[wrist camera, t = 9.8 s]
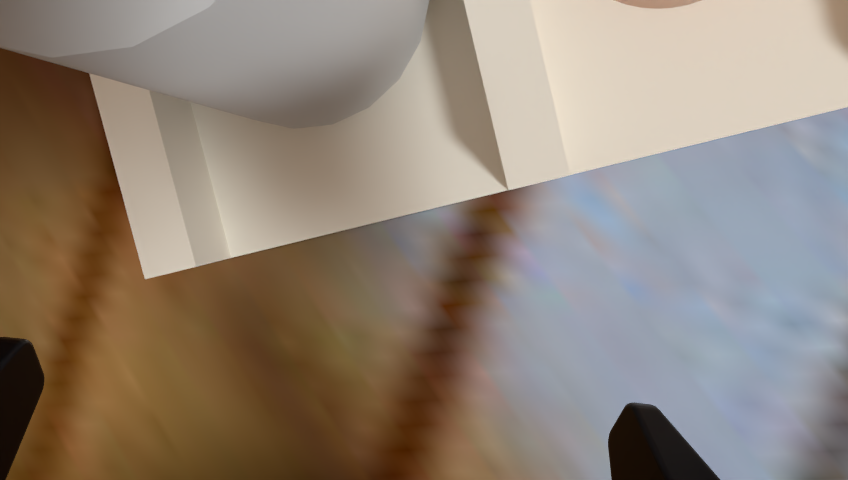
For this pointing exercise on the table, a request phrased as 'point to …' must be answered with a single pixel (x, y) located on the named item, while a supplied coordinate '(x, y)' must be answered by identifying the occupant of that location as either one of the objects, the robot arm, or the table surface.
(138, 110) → the divider tray
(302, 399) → the table surface
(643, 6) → the terracotta dish
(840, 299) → the table surface
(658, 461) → the robot arm
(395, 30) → the can
